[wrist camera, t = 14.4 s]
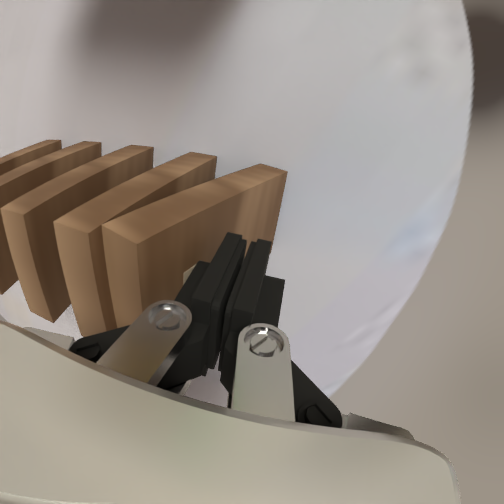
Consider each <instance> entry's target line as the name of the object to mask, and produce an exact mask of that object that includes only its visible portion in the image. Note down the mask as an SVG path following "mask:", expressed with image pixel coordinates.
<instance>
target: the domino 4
mask: <svg viewBox="0 0 504 504" xmlns="http://www.w3.org/2000/svg"><path fill="white" fill-rule="evenodd" d="M216 161H217V156H212V155H206V154H200V153H194V152H189V153H187V154H185V155H182V156H180V157H178V158H175V159H173V160H171V161H169V162H166V163H164V164H162V165H160V166H157V167H155V168H153V169H151V170H149V171H147V172H145V173H142V174H140V175H138V176H136V177H134V178H132V179H130V180H128V181H126V182H124V183H122V184H120V185H118V186H116V187H114V188H112V189H110V190H108V191H106V192H105V193H103V194H101V195H99V196H97V197H95V198H93V199H91V200H90V201H88V202H86V203H84V204H82V205H81V206H79V207H77V208H75V209H74V210H72V211H70V212H68V213H67V214H65V215H63V216H62V217H60V218H58V219H57V220H55V221H53V223H54V229H55V235H56V241H57V246H58V251H59V256H60V260H61V265H62V269H63V273H64V278H65V282H66V285H67V289H68V293H69V297H70V300H71V304H72V307H73V311H74V314H75V317H76V320H77V324H78V327H79V330H80V333H81V335H82V336H83V337H87V336H90V335H94V334H98V333H102V332H106V331H109V330H113V329H117V323H116V319H115V314H114V309H113V303H112V298H111V292H110V287H109V280H108V274H107V267H106V260H105V252H104V244H103V235H102V224H104V223H107V222H109V221H111V220H113V219H116V218H118V217H120V216H122V215H125V214H127V213H129V212H132V211H134V210H136V209H139V208H141V207H144V206H146V205H148V204H151V203H153V202H156V201H158V200H161V199H163V198H166V197H168V196H171V195H173V194H176V193H179V192H181V191H184V190H187V189H189V188H192V187H195V186H197V185H200V184H203V183H205V182H208V181H211V180H214V178H215V170H216Z"/></svg>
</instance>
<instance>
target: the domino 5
mask: <svg viewBox="0 0 504 504" xmlns="http://www.w3.org/2000/svg"><path fill="white" fill-rule="evenodd" d="M286 177H287V171H284V170H281V169H277V168H274V167H270V166H267V165H264V164H258V165H255V166H252V167H249V168H246V169H243V170H240V171H237V172H234V173H231V174H228V175H225V176H222V177H219V178H217V179H214V180H211V181H208V182H205V183H203V184H200V185H197V186H195V187H192V188H189V189H187V190H184V191H181V192H179V193H176V194H173V195H171V196H168V197H166V198H163V199H161V200H158V201H156V202H153V203H151V204H148V205H146V206H144V207H141V208H139V209H136V210H134V211H132V212H129V213H127V214H125V215H122V216H120V217H118V218H116V219H113V220H111V221H109V222H107V223H104V224H102V235H103V244H104V252H105V260H106V267H107V274H108V280H109V287H110V292H111V298H112V303H113V309H114V314H115V319H116V323H117V328H120V327H124V326H128V325H131V324H132V323H133V322H134V321H135V320H136V319H137V318H138V317H139V316H140V315H141V313H142V312H143V311H144V310H145V309H146V308H147V307H148V306H150V305H151V304H153V303H155V302H158V301H162V300H173V301H174V300H175V298H176V296H177V295H178V293H179V291H180V290H181V288H182V287H183V285H184V283H185V282H186V280H187V278H188V277H189V275H190V273H191V272H192V270H193V269H194V267H195V265H196V264H197V262H198V261H205V262H209V263H211V261H212V259H213V257H214V255H215V254H216V252H217V250H218V248H219V246H220V245H221V243H222V241H223V239H224V237H225V236H226V234H227V232H231V233H235V234H240V235H242V239H245V240H247V245H246V251H245V256H246V253H247V251H248V248H249V245H250V243H251V241H254V242H257V239H263V240H267V241H272V245H273V240H274V235H275V231H276V226H277V221H278V216H279V211H280V207H281V202H282V197H283V192H284V187H285V182H286ZM272 245H271V249H272ZM270 253H271V250H270Z"/></svg>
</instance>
